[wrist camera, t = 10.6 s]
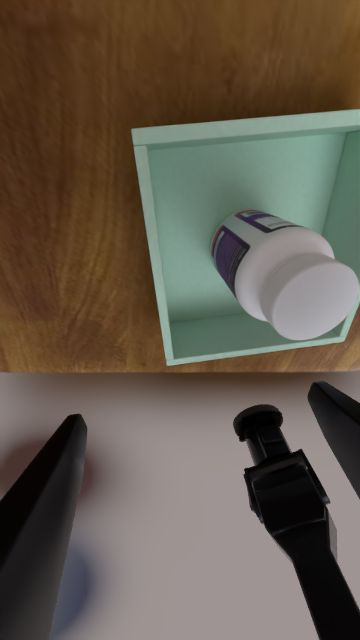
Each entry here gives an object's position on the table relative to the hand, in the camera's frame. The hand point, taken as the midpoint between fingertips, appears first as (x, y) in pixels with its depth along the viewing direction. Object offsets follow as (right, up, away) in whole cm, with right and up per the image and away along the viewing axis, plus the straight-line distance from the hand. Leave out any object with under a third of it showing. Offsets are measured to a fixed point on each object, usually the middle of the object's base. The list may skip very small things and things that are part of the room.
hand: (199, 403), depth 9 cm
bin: (+4, +10, +10) cm, 14 cm away
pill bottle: (+4, +9, +10) cm, 14 cm away
